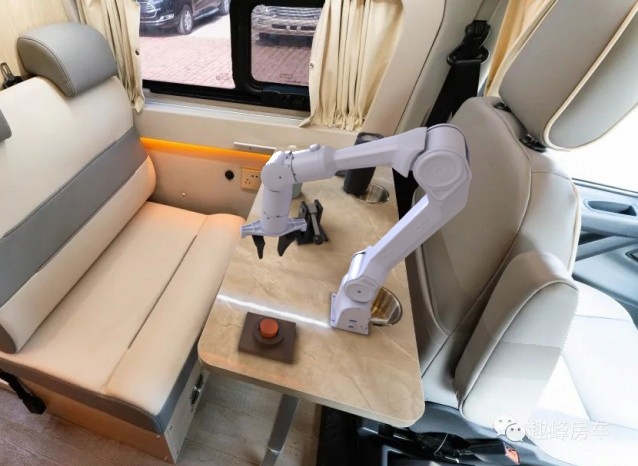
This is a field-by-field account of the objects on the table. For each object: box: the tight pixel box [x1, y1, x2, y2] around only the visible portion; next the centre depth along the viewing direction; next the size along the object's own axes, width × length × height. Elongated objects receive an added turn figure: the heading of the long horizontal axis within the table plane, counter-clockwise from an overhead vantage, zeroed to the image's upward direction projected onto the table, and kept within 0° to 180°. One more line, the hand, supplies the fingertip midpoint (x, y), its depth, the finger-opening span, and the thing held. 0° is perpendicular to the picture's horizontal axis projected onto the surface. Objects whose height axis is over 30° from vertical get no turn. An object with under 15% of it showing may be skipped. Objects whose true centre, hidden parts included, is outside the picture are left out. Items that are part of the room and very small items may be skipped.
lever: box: [306, 202, 325, 246], centre depth 91 cm, size 12×3×3 cm, turn 9°
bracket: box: [292, 198, 329, 246], centre depth 94 cm, size 11×9×10 cm
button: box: [260, 319, 278, 338], centre depth 68 cm, size 4×4×2 cm
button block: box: [237, 311, 297, 365], centre depth 70 cm, size 11×9×4 cm
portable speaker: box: [342, 131, 385, 197], centre depth 106 cm, size 9×9×20 cm
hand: (269, 254), depth 77 cm, fingers open, 4 cm apart
